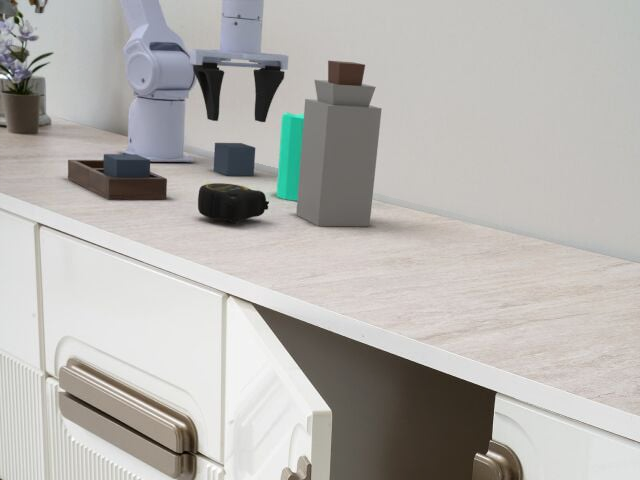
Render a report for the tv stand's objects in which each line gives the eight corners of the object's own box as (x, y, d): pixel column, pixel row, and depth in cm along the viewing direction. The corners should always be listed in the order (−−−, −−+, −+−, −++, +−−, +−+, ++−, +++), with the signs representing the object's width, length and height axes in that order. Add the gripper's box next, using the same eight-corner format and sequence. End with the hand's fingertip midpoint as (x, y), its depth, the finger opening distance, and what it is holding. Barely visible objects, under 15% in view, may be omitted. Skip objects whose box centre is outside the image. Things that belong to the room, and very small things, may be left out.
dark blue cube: (103, 186, 141) (103, 153, 140) (135, 186, 143) (136, 154, 142) (116, 193, 138) (116, 159, 136) (149, 192, 140) (150, 159, 138)
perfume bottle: (296, 214, 138) (308, 58, 130) (346, 215, 140) (360, 62, 133) (317, 225, 132) (331, 63, 125) (369, 226, 135) (385, 67, 128)
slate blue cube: (213, 170, 165) (214, 142, 163) (240, 170, 167) (241, 143, 165) (226, 175, 161) (228, 147, 160) (253, 175, 164) (255, 147, 162)
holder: (67, 179, 147) (67, 159, 146) (122, 179, 151) (122, 160, 150) (108, 199, 136) (109, 178, 135) (166, 199, 140) (167, 178, 139)
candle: (323, 196, 152) (331, 103, 147) (318, 203, 147) (327, 107, 142) (279, 191, 153) (286, 98, 148) (273, 198, 147) (280, 102, 142)
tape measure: (232, 228, 126) (234, 194, 125) (184, 218, 129) (186, 185, 128) (267, 222, 131) (270, 189, 130) (221, 212, 135) (223, 180, 133)
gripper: (207, 16, 149) (203, 123, 154) (301, 23, 156) (294, 125, 162) (185, 13, 154) (181, 116, 160) (277, 20, 162) (270, 119, 167)
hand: (236, 120), depth 161 cm, fingers open, 7 cm apart
